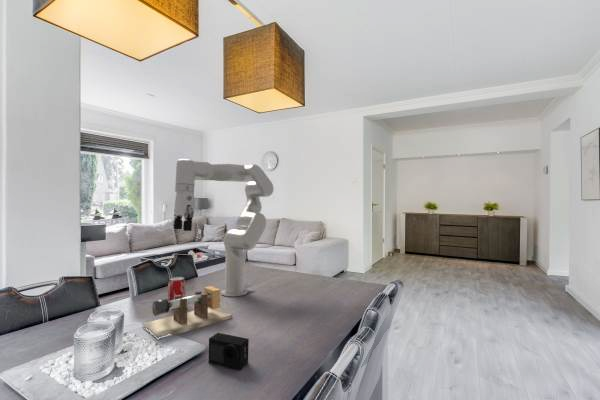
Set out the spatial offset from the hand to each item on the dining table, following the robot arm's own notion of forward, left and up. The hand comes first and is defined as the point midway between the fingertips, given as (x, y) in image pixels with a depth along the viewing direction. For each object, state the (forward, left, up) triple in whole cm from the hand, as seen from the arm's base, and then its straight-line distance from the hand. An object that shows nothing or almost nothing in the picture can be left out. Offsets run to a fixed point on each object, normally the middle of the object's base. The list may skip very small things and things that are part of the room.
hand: (182, 229), depth 125 cm
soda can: (0, -5, -33) cm, 34 cm away
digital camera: (+9, +50, -34) cm, 61 cm away
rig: (+3, +15, -33) cm, 36 cm away
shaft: (+4, +15, -28) cm, 32 cm away
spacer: (-6, +15, -26) cm, 30 cm away
